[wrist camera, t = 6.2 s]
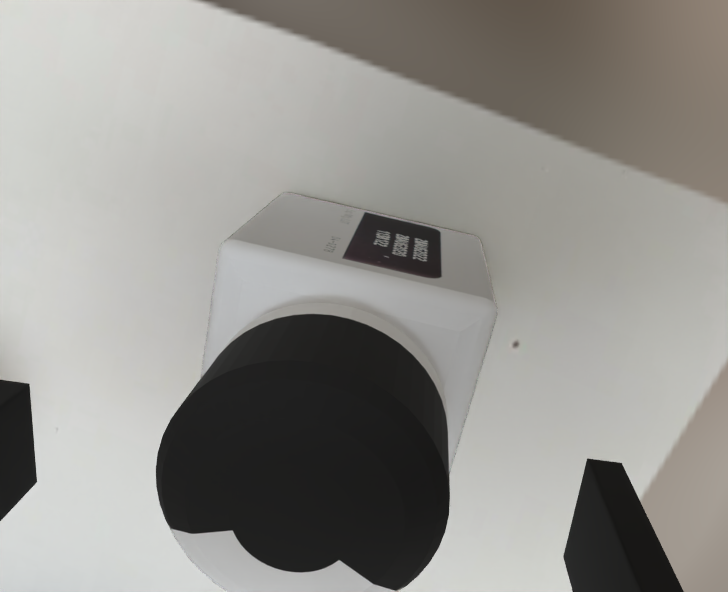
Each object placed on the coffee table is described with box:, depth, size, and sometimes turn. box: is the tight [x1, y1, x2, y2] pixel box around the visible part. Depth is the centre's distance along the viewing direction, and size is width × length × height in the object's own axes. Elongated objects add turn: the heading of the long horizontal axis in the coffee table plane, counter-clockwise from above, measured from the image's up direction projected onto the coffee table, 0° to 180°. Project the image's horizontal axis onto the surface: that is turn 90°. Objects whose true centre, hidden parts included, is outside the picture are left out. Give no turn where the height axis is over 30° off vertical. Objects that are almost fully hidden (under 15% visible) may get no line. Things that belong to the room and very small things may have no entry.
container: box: [156, 193, 497, 592], centre depth 20 cm, size 8×8×13 cm
